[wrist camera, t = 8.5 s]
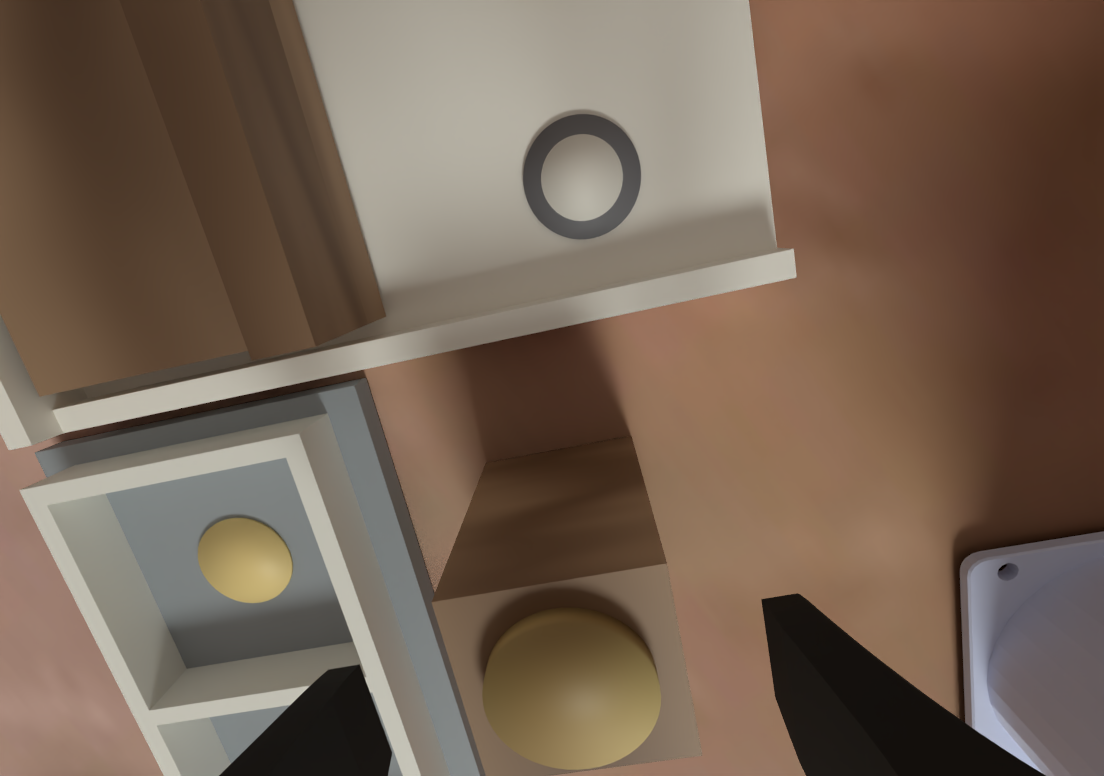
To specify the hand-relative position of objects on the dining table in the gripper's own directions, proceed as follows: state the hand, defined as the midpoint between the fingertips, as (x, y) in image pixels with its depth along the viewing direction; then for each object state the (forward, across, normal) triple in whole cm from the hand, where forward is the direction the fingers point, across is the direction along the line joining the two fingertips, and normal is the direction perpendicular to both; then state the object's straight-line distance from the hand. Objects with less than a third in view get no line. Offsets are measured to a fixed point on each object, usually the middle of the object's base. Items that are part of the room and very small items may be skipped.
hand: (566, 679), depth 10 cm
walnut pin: (+6, 0, 0) cm, 6 cm away
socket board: (+6, +9, +3) cm, 11 cm away
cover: (+5, +7, -11) cm, 14 cm away
